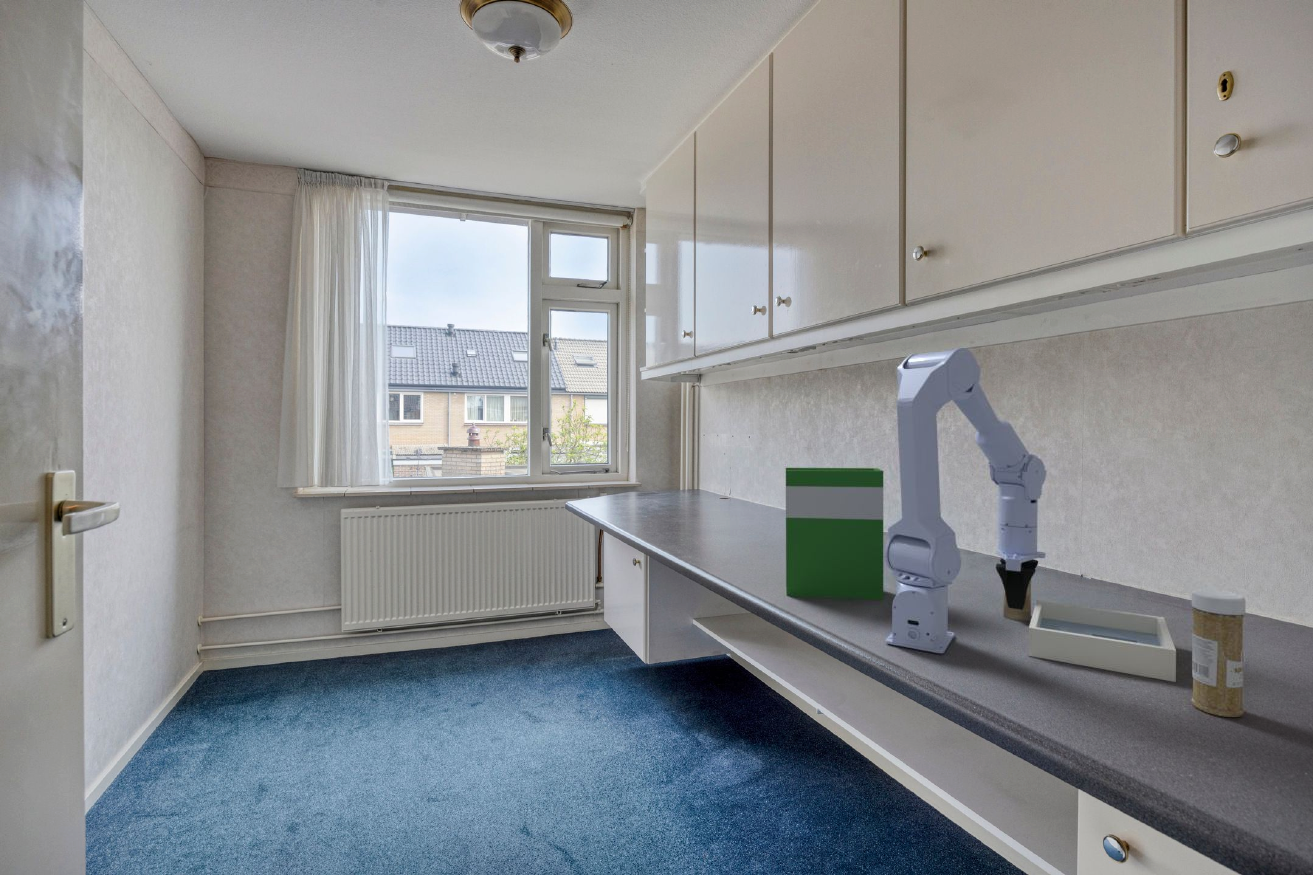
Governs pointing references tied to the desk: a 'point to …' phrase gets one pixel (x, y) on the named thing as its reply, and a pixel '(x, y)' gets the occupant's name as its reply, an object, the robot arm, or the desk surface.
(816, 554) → the hardback book
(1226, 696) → the sprinkles bottle
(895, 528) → the robot arm
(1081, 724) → the desk surface
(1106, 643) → the box
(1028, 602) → the wooden cylinder
